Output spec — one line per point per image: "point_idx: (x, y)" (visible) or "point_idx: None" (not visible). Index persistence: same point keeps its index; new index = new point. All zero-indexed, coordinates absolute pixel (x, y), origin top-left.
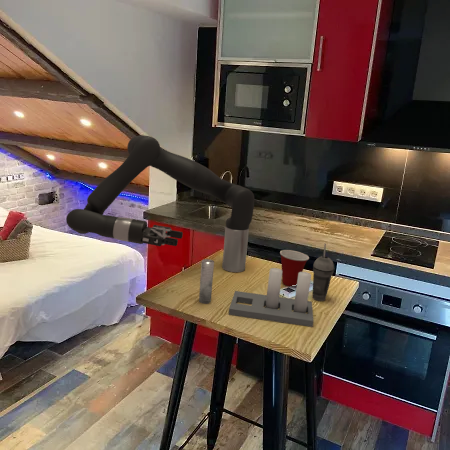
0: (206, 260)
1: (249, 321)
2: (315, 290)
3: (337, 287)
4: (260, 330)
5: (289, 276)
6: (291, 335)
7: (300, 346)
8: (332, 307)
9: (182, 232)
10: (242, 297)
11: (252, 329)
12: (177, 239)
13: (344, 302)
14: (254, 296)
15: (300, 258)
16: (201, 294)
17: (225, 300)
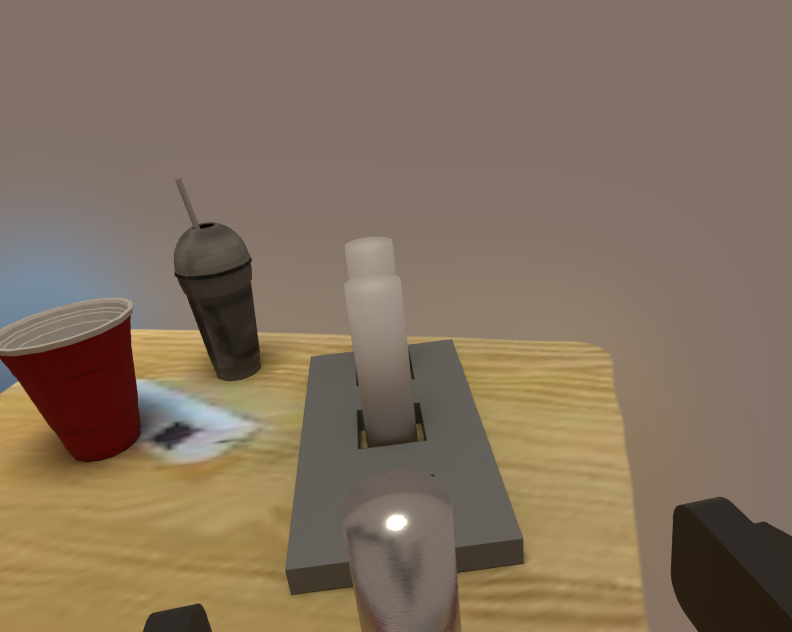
0: (377, 520)
1: (530, 482)
2: (247, 344)
3: (140, 350)
4: (574, 442)
5: (131, 399)
6: (541, 381)
7: (589, 360)
8: (298, 343)
9: (159, 612)
10: None
11: (587, 461)
12: (681, 505)
13: None
14: (329, 484)
15: (43, 337)
16: None
17: None
